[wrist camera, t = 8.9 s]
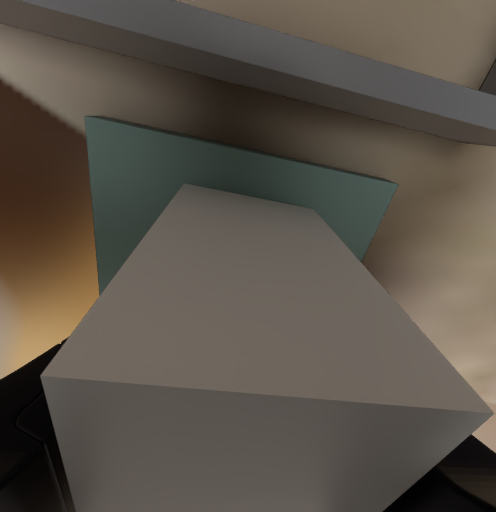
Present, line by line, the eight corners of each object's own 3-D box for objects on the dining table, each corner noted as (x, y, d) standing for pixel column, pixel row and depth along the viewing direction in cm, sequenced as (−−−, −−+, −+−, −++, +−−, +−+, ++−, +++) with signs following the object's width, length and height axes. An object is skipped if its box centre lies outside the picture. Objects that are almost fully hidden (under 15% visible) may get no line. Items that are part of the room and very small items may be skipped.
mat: (384, 178, 10) (398, 184, 10) (313, 336, 15) (318, 350, 14) (99, 115, 9) (84, 115, 8) (110, 313, 13) (102, 327, 12)
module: (313, 209, 9) (494, 413, 3) (270, 332, 12) (313, 572, 6) (184, 183, 8) (41, 375, 2) (171, 320, 11) (93, 577, 5)
